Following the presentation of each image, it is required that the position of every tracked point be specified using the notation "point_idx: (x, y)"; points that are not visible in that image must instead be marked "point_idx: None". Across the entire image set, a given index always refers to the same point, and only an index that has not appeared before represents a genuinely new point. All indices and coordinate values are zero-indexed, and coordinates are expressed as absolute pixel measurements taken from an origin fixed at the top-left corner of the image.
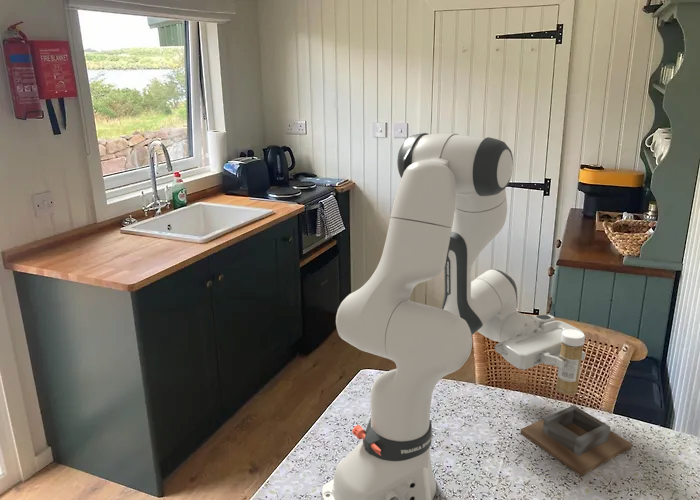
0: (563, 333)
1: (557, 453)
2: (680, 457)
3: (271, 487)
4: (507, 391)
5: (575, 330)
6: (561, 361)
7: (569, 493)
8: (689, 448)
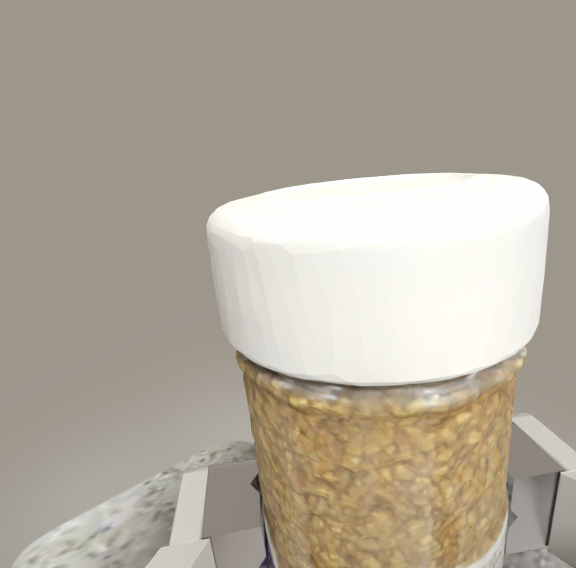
0: (528, 182)
1: None
2: (122, 517)
3: None
4: None
5: (255, 206)
6: (529, 417)
7: None
8: (60, 534)
